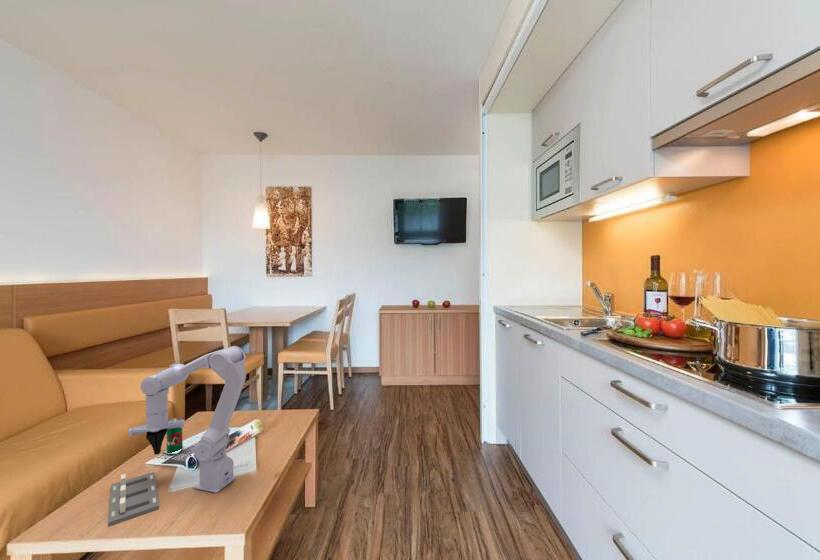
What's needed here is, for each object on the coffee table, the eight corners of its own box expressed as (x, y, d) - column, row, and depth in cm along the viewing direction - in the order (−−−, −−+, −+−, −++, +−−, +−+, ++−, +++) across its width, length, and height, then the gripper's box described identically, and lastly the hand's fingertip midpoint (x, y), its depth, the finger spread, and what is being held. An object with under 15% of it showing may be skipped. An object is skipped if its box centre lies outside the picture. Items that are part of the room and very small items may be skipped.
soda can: (185, 449, 134) (185, 418, 134) (175, 456, 129) (175, 424, 129) (173, 448, 135) (173, 417, 134) (163, 455, 129) (162, 423, 129)
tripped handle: (125, 506, 99) (125, 496, 99) (125, 511, 97) (125, 502, 97) (120, 508, 98) (119, 498, 98) (119, 513, 96) (119, 504, 96)
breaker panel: (154, 474, 117) (154, 462, 117) (158, 508, 100) (158, 494, 100) (111, 487, 110) (111, 474, 110) (108, 526, 93) (108, 511, 93)
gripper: (125, 420, 106) (126, 464, 106) (181, 411, 112) (182, 453, 113) (131, 412, 112) (132, 453, 112) (184, 404, 119) (185, 443, 119)
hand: (157, 452), depth 113 cm, fingers closed
